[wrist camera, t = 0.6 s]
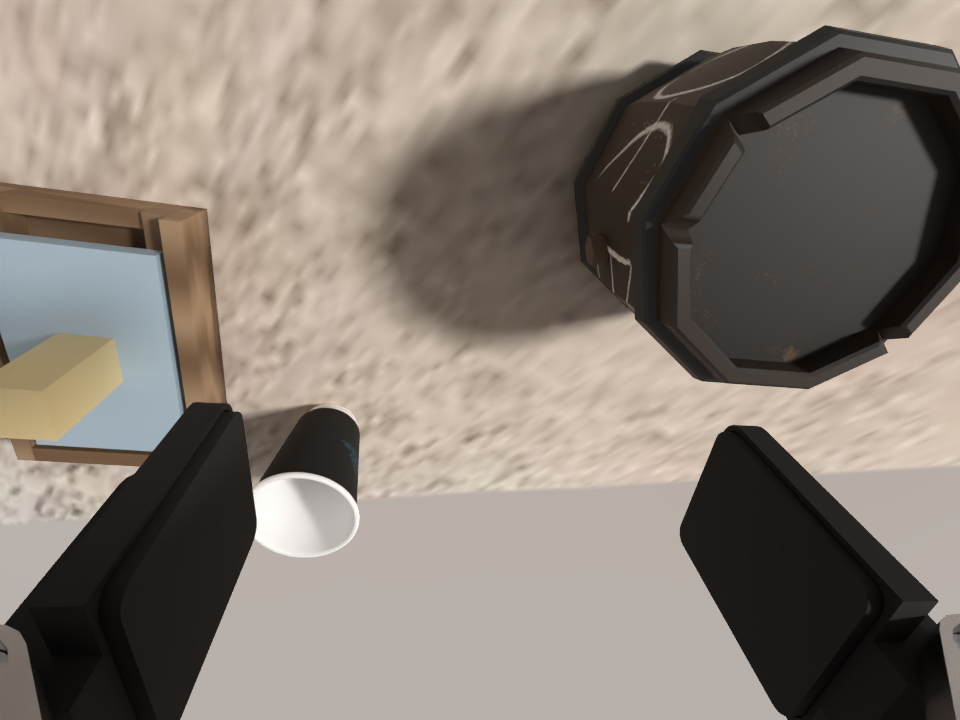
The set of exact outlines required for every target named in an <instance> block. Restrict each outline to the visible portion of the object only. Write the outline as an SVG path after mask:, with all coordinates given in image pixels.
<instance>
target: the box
mask: <svg viewBox="0 0 960 720" xmlns="http://www.w3.org/2000/svg"><path fill="white" fill-rule="evenodd" d="M0 232H4V233H12V234H21V235H30V236H38V237H47V238H56V239H64V240H73V241H81V242H90V243H99V244H107V245H116V246H125V247H133V248H142V249H150V250H159V251H163V254H164V261H165V267H166V274H167V281H168V288H169V294H170V301H171V308H172V314H173V321H174V328H175V335H176V341H177V348H178V355H179V361H180V368H181V375H182V382H183V388H184V395H185V402H186V409H187V408H188V407H189V406H190V405H191V404H192V403H194V402H206V403H227V401H226V391H225V381H224V372H223V362H222V352H221V342H220V333H219V323H218V313H217V304H216V294H215V284H214V275H213V265H212V255H211V246H210V236H209V226H208V217H207V209H202V208H195V207H187V206H179V205H171V204H164V203H156V202H148V201H140V200H133V199H125V198H117V197H109V196H102V195H94V194H86V193H78V192H71V191H63V190H55V189H47V188H39V187H32V186H24V185H16V184H8V183H1V182H0ZM8 363H10V361H9V358H8V355H7V352H6V349H5V345H4V342H3V339H2V336H1V333H0V368H1V367H3V366H5V365H6V364H8ZM10 439H11V442H12V445H13V447H14V450H15V453H16V456H17V459H18V460H34V461H52V462H70V463H87V464H105V465H123V466H141V465H142V464H143V463H144V462H145V460H146V459H147V458H148V457H149V455H150V454H151V453H152V452H153V451H136V450H120V449H103V448H87V447H71V446H54V445H38V444H37V443H36V440H30V439H13V438H10Z"/></svg>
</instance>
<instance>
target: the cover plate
mask: <svg viewBox="0 0 960 720" xmlns="http://www.w3.org/2000/svg"><path fill="white" fill-rule="evenodd" d="M0 333H1V336H2V339H3V342H4V345H5V349H6V352H7V355H8V358H9V361H10V363H8V364H6V365H5V366H3V367H1V368H0V438H13V439H30V440H36V443H37V444H38V445H54V446H71V447H87V448H103V449H120V450H136V451H153V450H154V449H155V448H156V447H157V445H158V444H159V443H160V442H161V440H162V439H163V438H164V437H165V435H166V434H167V433H168V432H169V430H170V429H171V428H172V427H173V425H174V424H175V423H176V422H177V420H178V419H179V418H180V417H181V415H182V414H183V413H184V412H185V411H186V402H185V395H184V388H183V382H182V375H181V368H180V361H179V355H178V348H177V341H176V335H175V328H174V321H173V314H172V308H171V301H170V294H169V288H168V281H167V274H166V267H165V261H164V254H163V251H159V250H150V249H142V248H133V247H125V246H116V245H107V244H99V243H90V242H81V241H73V240H64V239H56V238H47V237H38V236H30V235H21V234H12V233H4V232H0Z"/></svg>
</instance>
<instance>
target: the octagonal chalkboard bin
mask: <svg viewBox="0 0 960 720" xmlns="http://www.w3.org/2000/svg"><path fill="white" fill-rule="evenodd" d="M574 188H575V199H576V210H577V221H578V231H579V242H580V253H581V262H582V263H583V264H584V265H585V266H586V267H587V268H588V269H589V270H590V271H591V272H592V273H593V274H594V275H595V276H596V277H597V278H598V279H599V280H600V281H601V282H602V283H603V284H604V285H605V286H606V287H607V288H608V289H609V290H610V291H611V292H612V293H613V294H614V295H615V296H616V297H617V298H618V299H619V300H620V301H621V302H622V303H623V304H624V305H625V306H626V307H627V308H629V309H630V310H631V311H632V312H633V313H634V314H635V320H636V321H637V322H638V323H639V324H640V325H641V326H642V327H643V328H644V329H645V330H646V331H647V332H648V333H649V334H650V335H651V336H652V337H653V338H654V339H655V340H656V341H657V342H658V343H659V344H660V345H661V346H662V347H663V348H664V349H665V350H666V351H667V352H668V353H669V354H670V355H671V356H672V357H673V358H674V359H675V360H676V361H677V362H678V363H679V364H680V365H681V366H682V367H683V368H684V369H685V370H686V371H687V372H688V373H689V374H690V375H691V376H692V377H693V378H696V379H698V380H700V381H707V382H721V383H731V384H745V385H759V386H773V387H787V388H801V389H810V388H812V387H814V386H816V385H818V384H821V383H823V382H825V381H827V380H829V379H831V378H834V377H836V376H838V375H840V374H842V373H845V372H847V371H849V370H851V369H853V368H856V367H858V366H860V365H862V364H864V363H866V362H869V361H871V360H873V359H875V358H877V357H880V356H882V355H884V354H886V353H888V352H887V349H886V347H885V345H884V342H885V341H886V340H887V339H898V338H909V337H910V335H911V334H912V333H913V332H914V331H915V330H916V329H917V328H918V327H919V326H920V325H921V323H922V322H923V321H924V320H925V319H926V318H927V317H928V316H929V315H930V314H931V313H932V312H933V310H934V309H935V308H936V307H937V306H938V305H939V304H940V303H941V302H942V301H943V300H944V298H945V297H946V296H947V295H948V294H949V293H950V292H951V291H952V290H953V289H954V288H955V286H956V285H957V284H958V283H959V282H960V66H959V64H958V62H957V60H956V57H955V55H954V53H953V51H952V50H951V49H948V48H944V47H941V46H936V45H930V44H925V43H919V42H914V41H908V40H903V39H898V38H892V37H887V36H881V35H876V34H870V33H865V32H859V31H854V30H848V29H843V28H837V27H832V26H826V25H825V26H823V27H821V28H820V29H818V30H816V31H814V32H813V33H811V34H809V35H808V36H806V37H804V38H802V39H801V40H799V41H797V42H785V41H768V42H763V43H758V44H752V45H747V46H741V47H736V48H732V49H729V50H727V51H725V52H722V53H716V52H710V51H704V50H700V51H698V52H696V53H695V54H693V55H691V56H690V57H688V58H686V59H685V60H683V61H681V62H680V63H678V64H676V65H675V66H673V67H671V68H670V69H668V70H666V71H664V72H663V73H661V74H659V75H658V76H656V77H654V78H653V79H651V80H649V81H648V82H646V83H644V84H643V85H641V86H639V87H638V88H636V89H634V90H632V91H631V92H629V93H627V94H626V95H624V96H622V97H621V98H619V99H618V100H617V101H616V102H615V104H614V106H613V108H612V110H611V112H610V114H609V116H608V118H607V120H606V121H605V123H604V125H603V127H602V129H601V131H600V133H599V135H598V137H597V139H596V141H595V143H594V145H593V146H592V148H591V150H590V152H589V154H588V156H587V158H586V160H585V162H584V164H583V166H582V168H581V169H580V171H579V173H578V175H577V177H576V179H575V181H574Z"/></svg>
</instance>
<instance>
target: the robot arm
mask: <svg viewBox="0 0 960 720" xmlns="http://www.w3.org/2000/svg"><path fill="white" fill-rule="evenodd" d="M256 528H257V517H256V510H255V503H254V496H253V488H252V481H251V474H250V467H249V460H248V452H247V445H246V438H245V431H244V424H243V418H242V415H241V413H240V412H233V411H232V408H231V406H230V405H229V404H228V403H206V402H194V403H192V404H191V405H190V406H189V407H188V408H187V409H186V411H185V412H184V413H183V414H182V415H181V417H180V418H179V419H178V420H177V422H176V423H175V424H174V425H173V427H172V428H171V429H170V430H169V432H168V433H167V434H166V435H165V437H164V438H163V439H162V440H161V442H160V443H159V444H158V445H157V447H156V448H155V449H154V450H153V452H152V453H151V454H150V455H149V457H148V458H147V459H146V460H145V462H144V463H143V464H142V465H141V466H140V468H139V469H138V470H137V471H136V473H135V474H134V475H132V476H129V477H127V478H126V479H125V480H124V481H123V482H122V483H121V484H119V486H118V487H117V488H116V489H115V491H114V492H113V493H112V494H111V495H110V497H109V498H108V499H107V500H106V502H105V503H104V504H103V505H102V506H101V508H100V509H99V510H98V511H97V512H96V514H95V515H94V516H93V517H92V519H91V520H90V521H89V522H88V524H87V525H86V526H85V527H84V528H83V530H82V531H81V532H80V533H79V534H78V536H77V537H76V538H75V539H74V541H73V542H72V543H71V544H70V545H69V547H68V548H67V549H66V550H65V552H64V553H63V554H62V555H61V557H60V558H59V559H58V560H57V561H56V562H55V564H54V565H53V566H52V567H51V569H50V570H49V571H48V572H47V573H46V575H45V576H44V577H43V579H42V580H41V581H40V582H39V583H38V584H37V586H36V587H35V588H34V589H33V591H32V592H31V593H30V594H29V595H28V597H27V598H26V599H25V600H24V601H23V603H22V604H21V605H20V606H19V608H18V609H17V610H16V611H15V613H14V614H13V615H12V616H11V617H10V619H9V620H8V621H7V622H6V624H5V625H0V720H180V718H181V716H182V714H183V711H184V709H185V706H186V704H187V702H188V699H189V697H190V694H191V692H192V689H193V687H194V684H195V682H196V679H197V677H198V674H199V672H200V670H201V667H202V665H203V663H204V660H205V658H206V655H207V653H208V650H209V648H210V645H211V643H212V641H213V638H214V636H215V633H216V631H217V628H218V626H219V624H220V621H221V619H222V616H223V614H224V611H225V609H226V606H227V604H228V602H229V599H230V597H231V594H232V592H233V589H234V587H235V584H236V582H237V579H238V577H239V575H240V572H241V570H242V567H243V565H244V563H245V560H246V557H247V555H248V553H249V550H250V548H251V546H252V543H253V540H254V538H255V534H256ZM680 538H681V542H682V544H683V546H684V547H685V550H686V551H687V553H688V555H689V557H690V558H691V560H692V562H693V564H694V566H695V567H696V569H697V571H698V572H699V574H700V576H701V578H702V580H703V582H704V583H705V585H706V587H707V588H708V590H709V592H710V594H711V596H712V597H713V599H714V601H715V603H716V604H717V606H718V608H719V610H720V612H721V613H722V615H723V617H724V619H725V621H726V622H727V624H728V626H729V628H730V629H731V631H732V633H733V635H734V636H735V638H736V640H737V642H738V644H739V645H740V647H741V649H742V651H743V652H744V654H745V656H746V658H747V660H748V661H749V663H750V665H751V667H752V668H753V670H754V672H755V674H756V675H757V677H758V679H759V681H760V682H761V684H762V686H763V688H764V690H765V691H766V693H767V695H768V697H769V699H770V700H771V702H772V704H773V705H774V707H775V708H776V709H777V711H778V712H780V713H781V714H782V715H784V716H786V718H787V719H788V720H960V614H952V615H946V616H945V617H944V618H943V619H942V620H941V621H940V622H939V623H938V624H936V623H935V622H934V621H933V620H932V619H931V618H930V617H929V616H928V613H929V612H930V611H931V610H932V609H933V607H934V606H935V605H936V604H937V603H938V600H937V599H936V598H935V597H934V596H933V595H932V594H931V593H930V592H929V591H928V590H927V589H926V588H925V587H924V586H923V585H922V584H921V583H920V582H919V581H918V580H917V579H916V578H915V577H914V576H912V574H911V573H909V572H908V570H907V569H905V568H904V566H902V565H901V564H900V563H899V562H898V561H897V560H896V559H895V558H894V557H893V556H892V555H891V554H890V553H889V552H888V551H887V550H886V549H885V548H884V547H883V546H882V545H881V544H880V543H879V542H878V541H877V540H876V539H875V538H874V537H873V536H872V535H871V534H870V533H869V532H868V531H867V530H866V529H865V528H864V527H863V526H862V525H861V524H860V523H859V522H858V521H857V520H856V519H855V518H854V517H853V516H852V515H851V514H850V513H849V512H848V511H847V510H846V509H845V508H844V507H843V506H842V505H841V504H839V502H838V501H837V500H836V499H835V498H834V497H833V496H832V495H831V494H830V493H829V492H827V491H826V489H824V488H823V487H822V486H821V485H820V484H819V483H818V482H817V481H816V480H815V479H814V478H813V477H812V476H811V475H810V474H809V473H808V472H807V471H806V470H805V469H804V468H803V467H802V466H801V465H800V464H799V463H798V462H797V461H796V460H795V459H794V458H793V457H792V456H791V455H790V454H789V453H788V452H787V451H786V450H785V449H784V448H783V447H782V446H781V445H780V444H779V443H778V442H777V441H776V440H775V439H774V438H773V437H772V436H771V435H770V434H769V433H768V432H767V431H766V430H764V429H763V428H762V427H758V426H740V425H732V426H729V427H728V428H726V429H725V431H724V432H721V433H720V434H719V435H718V436H717V438H716V440H715V443H714V445H713V448H712V450H711V453H710V455H709V457H708V460H707V462H706V465H705V467H704V470H703V472H702V475H701V477H700V479H699V482H698V484H697V487H696V489H695V492H694V494H693V497H692V499H691V501H690V504H689V507H688V509H687V511H686V514H685V516H684V519H683V521H682V524H681V527H680Z"/></svg>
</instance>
